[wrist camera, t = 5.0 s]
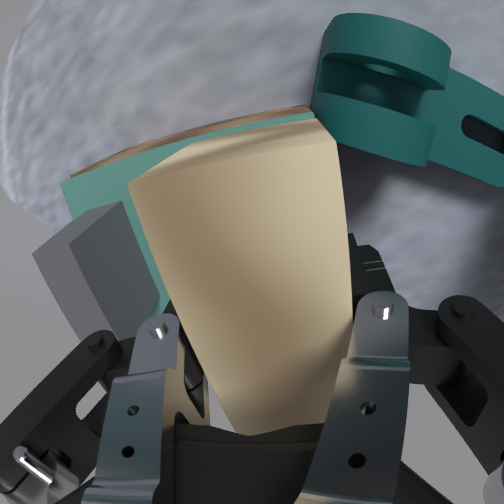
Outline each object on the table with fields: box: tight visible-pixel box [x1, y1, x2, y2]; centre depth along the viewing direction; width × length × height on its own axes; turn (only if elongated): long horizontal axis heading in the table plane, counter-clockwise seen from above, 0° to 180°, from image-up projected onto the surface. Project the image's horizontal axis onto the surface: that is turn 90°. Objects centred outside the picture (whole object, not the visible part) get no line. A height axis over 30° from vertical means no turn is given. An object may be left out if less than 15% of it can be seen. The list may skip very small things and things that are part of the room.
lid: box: [32, 112, 315, 342], centre depth 15 cm, size 14×10×7 cm
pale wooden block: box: [127, 118, 353, 436], centre depth 10 cm, size 4×10×4 cm, turn 12°
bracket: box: [310, 13, 504, 188], centre depth 15 cm, size 18×7×8 cm, turn 81°
